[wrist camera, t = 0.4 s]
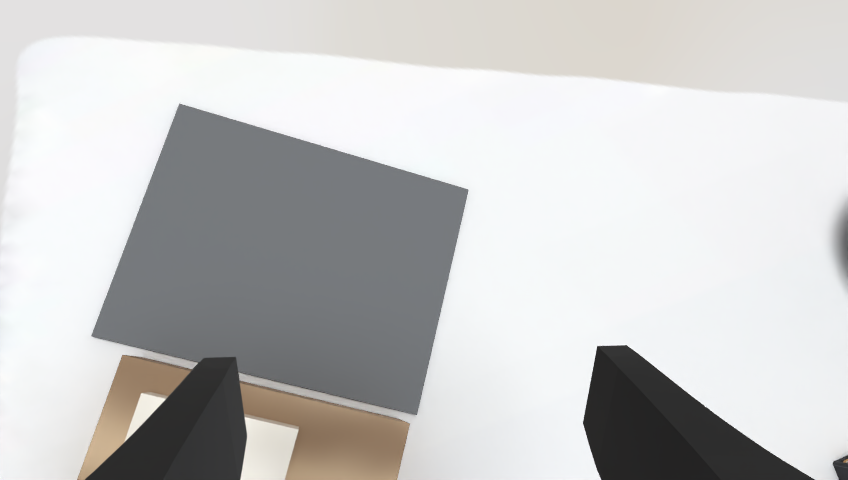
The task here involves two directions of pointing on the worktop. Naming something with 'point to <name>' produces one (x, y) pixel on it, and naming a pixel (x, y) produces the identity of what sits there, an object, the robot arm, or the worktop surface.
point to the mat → (286, 262)
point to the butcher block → (318, 420)
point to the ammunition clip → (842, 468)
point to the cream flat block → (263, 446)
